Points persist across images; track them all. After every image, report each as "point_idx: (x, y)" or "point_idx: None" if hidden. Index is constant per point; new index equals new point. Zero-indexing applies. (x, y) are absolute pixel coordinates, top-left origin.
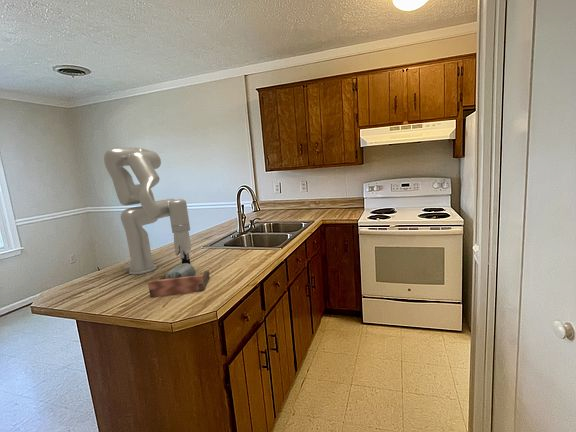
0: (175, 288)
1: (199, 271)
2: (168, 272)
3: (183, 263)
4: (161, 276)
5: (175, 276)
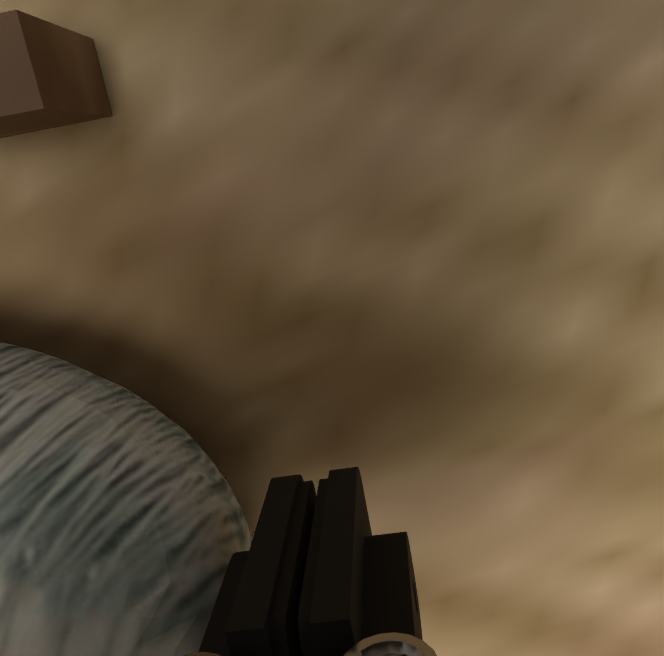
0: None
1: (611, 538)
2: None
3: (208, 623)
4: (2, 21)
5: None
